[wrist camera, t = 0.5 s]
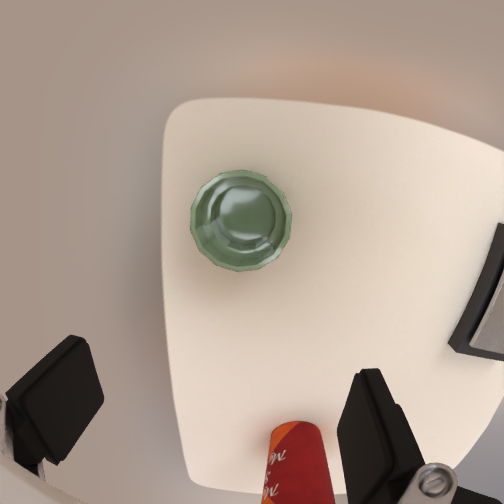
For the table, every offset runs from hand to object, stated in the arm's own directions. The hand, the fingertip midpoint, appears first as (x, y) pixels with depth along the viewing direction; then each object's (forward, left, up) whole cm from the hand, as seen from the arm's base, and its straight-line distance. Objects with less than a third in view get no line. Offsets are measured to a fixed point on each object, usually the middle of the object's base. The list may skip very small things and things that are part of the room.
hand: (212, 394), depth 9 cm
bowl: (-4, -1, -16) cm, 16 cm away
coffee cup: (+19, +12, -16) cm, 28 cm away
